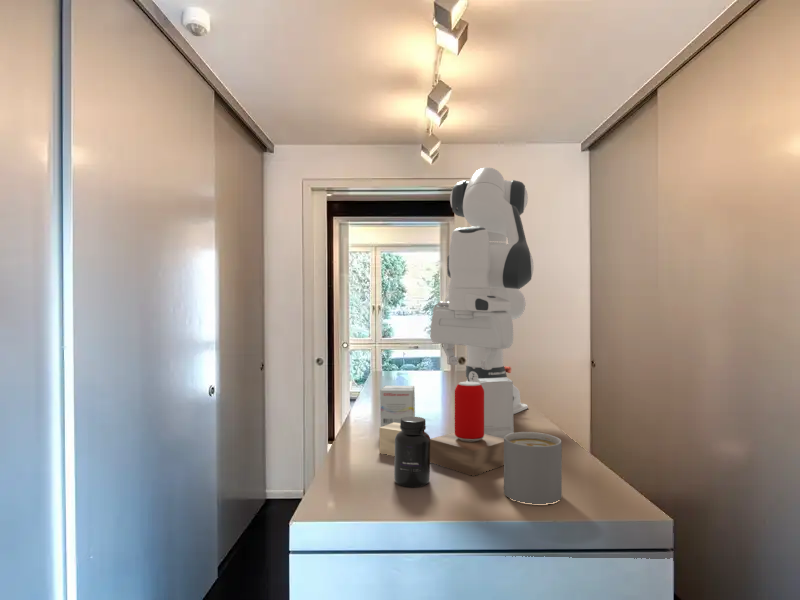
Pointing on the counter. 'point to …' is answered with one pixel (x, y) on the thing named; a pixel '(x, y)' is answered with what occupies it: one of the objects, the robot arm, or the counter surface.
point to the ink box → (396, 403)
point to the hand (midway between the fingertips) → (469, 366)
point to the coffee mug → (533, 467)
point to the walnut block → (467, 453)
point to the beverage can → (469, 411)
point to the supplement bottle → (412, 453)
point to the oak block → (388, 438)
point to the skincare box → (498, 406)
